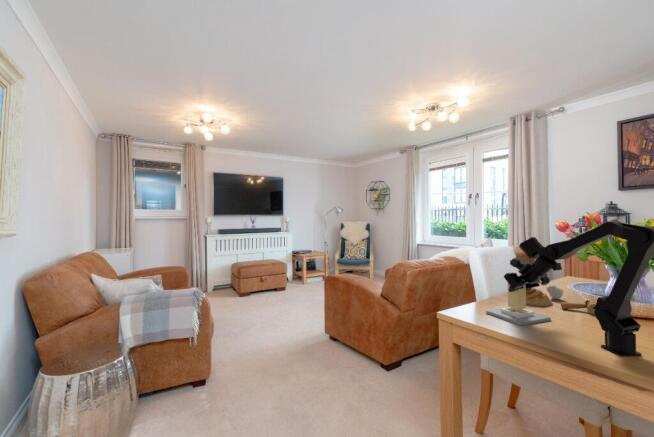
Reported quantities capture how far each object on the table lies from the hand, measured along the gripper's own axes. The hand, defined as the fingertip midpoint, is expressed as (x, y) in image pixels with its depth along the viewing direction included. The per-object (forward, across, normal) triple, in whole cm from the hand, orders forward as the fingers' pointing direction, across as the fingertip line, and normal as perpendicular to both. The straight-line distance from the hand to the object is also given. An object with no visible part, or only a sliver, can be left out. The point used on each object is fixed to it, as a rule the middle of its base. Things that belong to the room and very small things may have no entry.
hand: (513, 290), depth 123 cm
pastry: (+16, -25, 0) cm, 30 cm away
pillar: (+4, 0, +6) cm, 7 cm away
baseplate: (+7, 0, +8) cm, 11 cm away
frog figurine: (+15, -40, 0) cm, 43 cm away
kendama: (+2, -33, +13) cm, 36 cm away
